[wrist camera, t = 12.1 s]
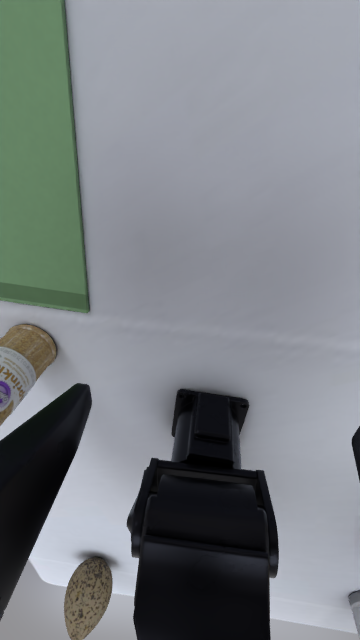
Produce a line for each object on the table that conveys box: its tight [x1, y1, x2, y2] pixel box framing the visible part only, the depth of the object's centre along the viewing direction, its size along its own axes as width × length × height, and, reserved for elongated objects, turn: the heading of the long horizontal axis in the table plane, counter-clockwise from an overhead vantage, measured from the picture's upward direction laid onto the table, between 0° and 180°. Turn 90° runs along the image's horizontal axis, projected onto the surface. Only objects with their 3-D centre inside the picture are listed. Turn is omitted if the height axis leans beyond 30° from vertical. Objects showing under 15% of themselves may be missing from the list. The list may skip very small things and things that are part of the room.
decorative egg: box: [64, 557, 112, 640], centre depth 47 cm, size 7×7×10 cm
